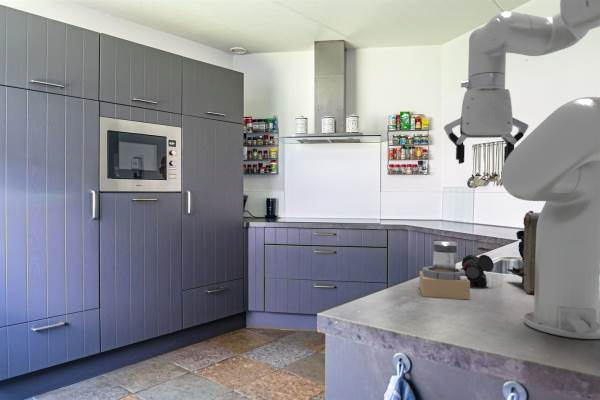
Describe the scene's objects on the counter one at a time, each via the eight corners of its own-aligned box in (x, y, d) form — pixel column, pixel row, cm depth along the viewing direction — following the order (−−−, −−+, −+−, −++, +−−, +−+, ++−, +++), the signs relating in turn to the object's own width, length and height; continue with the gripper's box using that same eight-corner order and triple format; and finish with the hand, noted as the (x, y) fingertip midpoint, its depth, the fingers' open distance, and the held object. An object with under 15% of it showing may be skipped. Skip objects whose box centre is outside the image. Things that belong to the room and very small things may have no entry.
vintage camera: (541, 285, 112) (540, 211, 113) (572, 296, 97) (572, 211, 98) (503, 284, 113) (503, 210, 114) (529, 295, 98) (528, 210, 99)
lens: (457, 278, 95) (459, 243, 95) (433, 277, 96) (435, 242, 96) (453, 274, 100) (454, 241, 100) (431, 273, 101) (432, 240, 101)
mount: (469, 299, 92) (470, 274, 92) (422, 296, 94) (423, 272, 94) (461, 289, 102) (462, 267, 102) (419, 287, 104) (419, 265, 104)
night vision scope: (471, 284, 120) (501, 265, 117) (469, 299, 104) (504, 277, 101) (452, 262, 122) (482, 242, 119) (448, 273, 106) (482, 250, 103)
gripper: (447, 82, 90) (445, 161, 91) (534, 79, 87) (532, 162, 87) (442, 91, 98) (441, 164, 98) (523, 89, 94) (521, 164, 95)
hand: (484, 163), depth 93 cm, fingers open, 9 cm apart
